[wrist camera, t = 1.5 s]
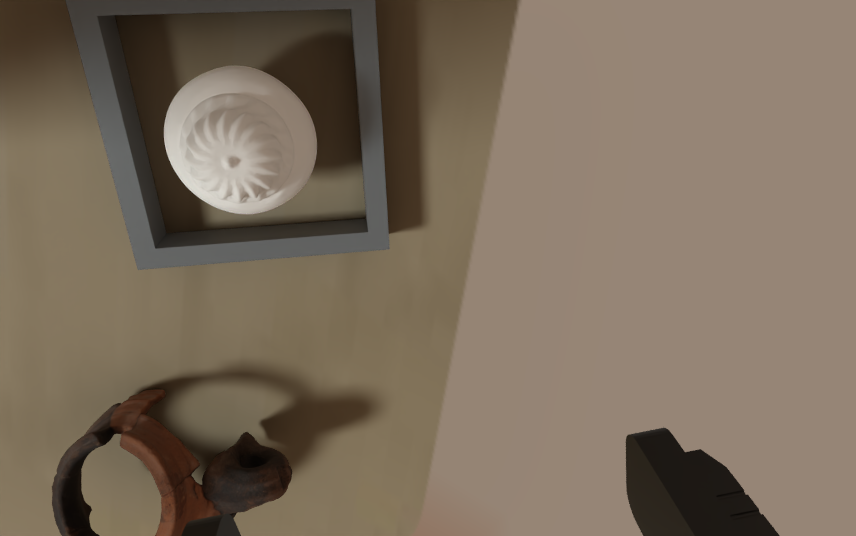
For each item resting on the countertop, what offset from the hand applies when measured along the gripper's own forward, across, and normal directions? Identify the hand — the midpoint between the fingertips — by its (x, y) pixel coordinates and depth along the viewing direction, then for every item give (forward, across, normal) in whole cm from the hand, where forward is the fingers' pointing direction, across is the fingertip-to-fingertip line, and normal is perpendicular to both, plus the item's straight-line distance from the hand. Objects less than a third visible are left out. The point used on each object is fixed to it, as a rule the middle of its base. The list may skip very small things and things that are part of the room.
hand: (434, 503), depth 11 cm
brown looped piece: (+20, +14, +13) cm, 27 cm away
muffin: (+20, +6, -5) cm, 21 cm away
